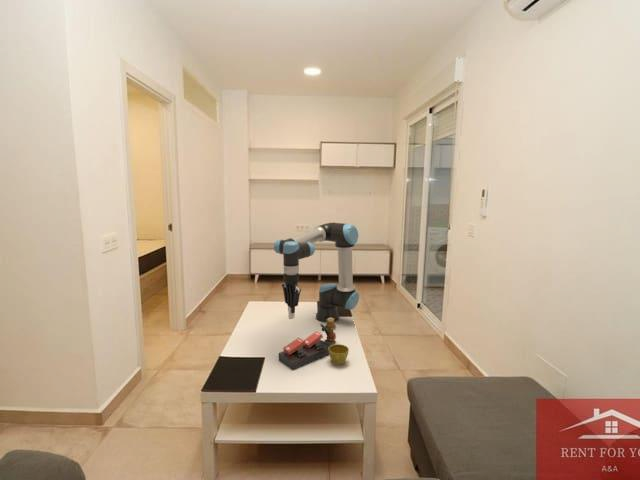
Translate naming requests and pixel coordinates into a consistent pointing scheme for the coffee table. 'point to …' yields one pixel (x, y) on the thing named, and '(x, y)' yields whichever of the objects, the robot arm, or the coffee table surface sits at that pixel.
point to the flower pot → (338, 353)
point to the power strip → (305, 355)
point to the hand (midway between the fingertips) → (291, 318)
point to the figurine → (329, 331)
